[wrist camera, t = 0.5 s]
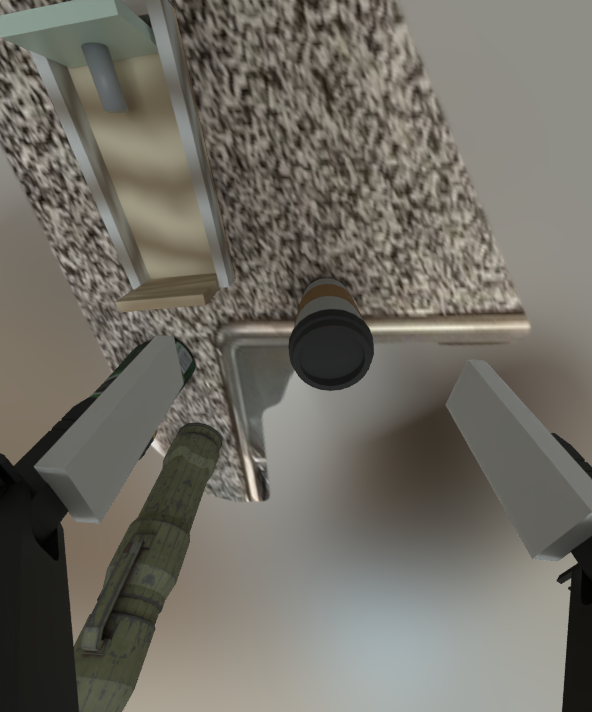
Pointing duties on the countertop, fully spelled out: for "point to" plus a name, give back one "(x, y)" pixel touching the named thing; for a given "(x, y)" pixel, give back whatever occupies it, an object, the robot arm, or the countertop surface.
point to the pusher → (84, 40)
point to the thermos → (143, 574)
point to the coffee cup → (330, 338)
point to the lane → (148, 168)
